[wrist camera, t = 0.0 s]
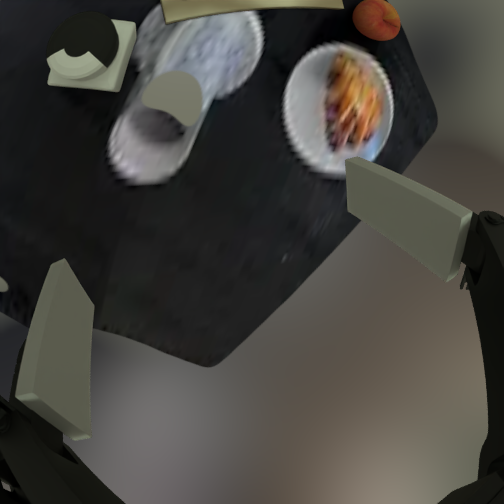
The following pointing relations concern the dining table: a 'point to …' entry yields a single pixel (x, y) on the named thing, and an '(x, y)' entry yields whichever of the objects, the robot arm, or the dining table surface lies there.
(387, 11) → the apple
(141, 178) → the dining table surface
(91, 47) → the container
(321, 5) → the board
